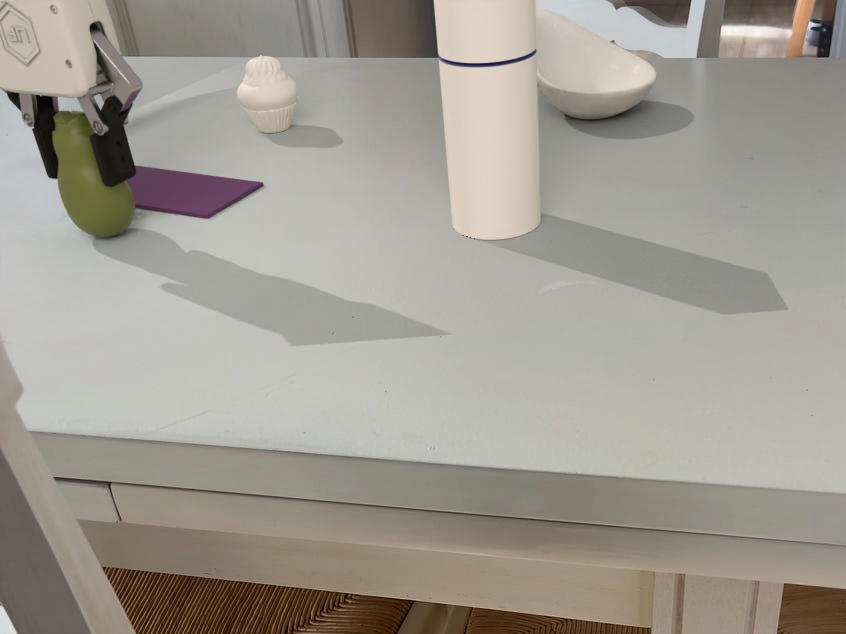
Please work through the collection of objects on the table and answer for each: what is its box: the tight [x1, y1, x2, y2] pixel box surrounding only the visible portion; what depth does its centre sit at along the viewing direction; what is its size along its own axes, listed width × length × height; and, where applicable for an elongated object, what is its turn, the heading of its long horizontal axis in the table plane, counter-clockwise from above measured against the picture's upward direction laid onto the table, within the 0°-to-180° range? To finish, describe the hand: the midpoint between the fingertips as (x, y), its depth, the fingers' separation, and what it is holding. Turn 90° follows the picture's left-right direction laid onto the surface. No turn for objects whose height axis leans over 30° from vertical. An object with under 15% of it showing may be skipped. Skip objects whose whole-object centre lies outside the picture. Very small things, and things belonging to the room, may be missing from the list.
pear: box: [52, 109, 136, 238], centre depth 82 cm, size 6×5×10 cm
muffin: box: [236, 54, 299, 134], centre depth 102 cm, size 6×6×7 cm
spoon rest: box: [536, 9, 658, 120], centre depth 104 cm, size 24×12×7 cm, turn 29°
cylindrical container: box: [433, 0, 542, 241], centre depth 74 cm, size 7×7×25 cm
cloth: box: [126, 164, 264, 219], centre depth 92 cm, size 16×8×1 cm, turn 63°
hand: (92, 174), depth 82 cm, fingers closed on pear, 5 cm apart
